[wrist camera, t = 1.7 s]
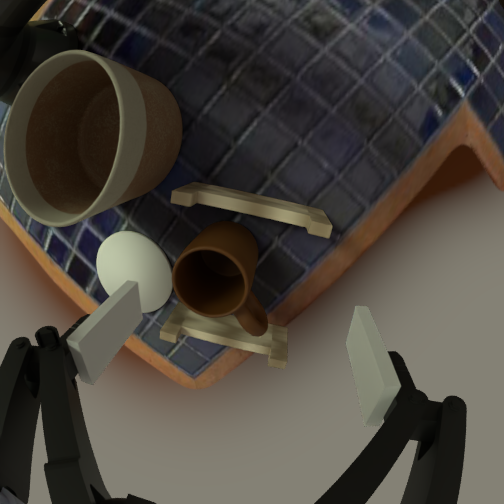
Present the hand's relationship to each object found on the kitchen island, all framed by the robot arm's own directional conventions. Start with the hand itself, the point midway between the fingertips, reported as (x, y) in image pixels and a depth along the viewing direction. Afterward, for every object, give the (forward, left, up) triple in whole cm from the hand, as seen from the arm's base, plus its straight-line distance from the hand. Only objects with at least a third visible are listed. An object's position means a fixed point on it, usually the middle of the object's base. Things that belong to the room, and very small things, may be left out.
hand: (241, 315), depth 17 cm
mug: (-2, -5, -18) cm, 19 cm away
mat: (-16, -10, -18) cm, 26 cm away
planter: (-19, +8, -18) cm, 28 cm away
